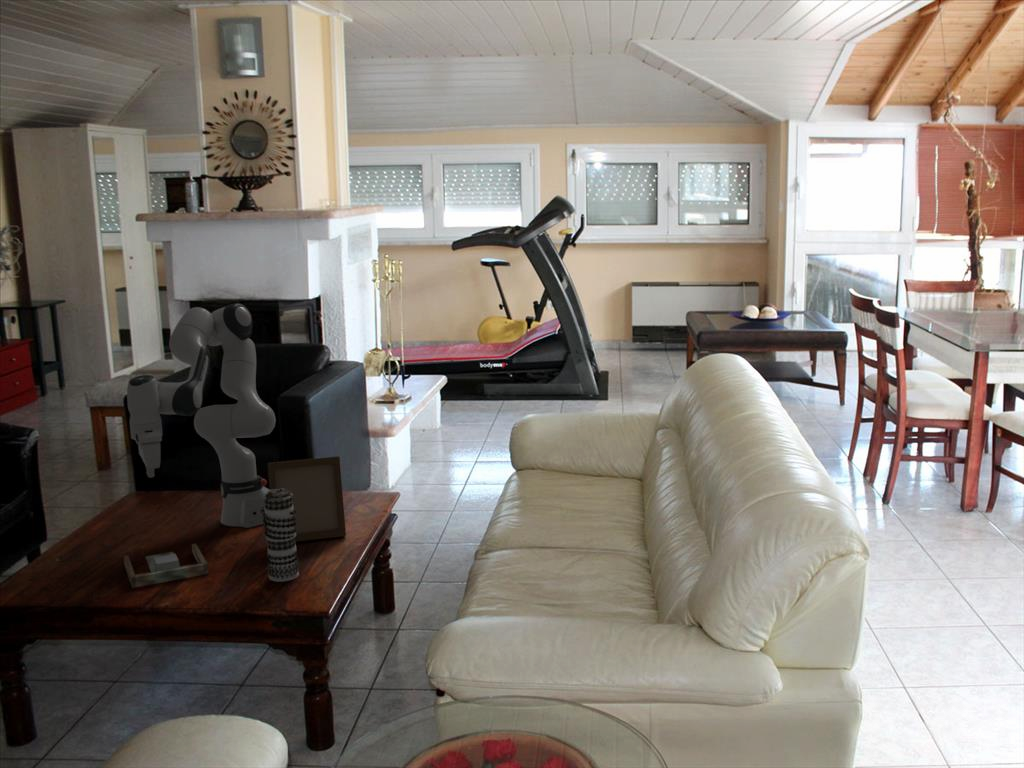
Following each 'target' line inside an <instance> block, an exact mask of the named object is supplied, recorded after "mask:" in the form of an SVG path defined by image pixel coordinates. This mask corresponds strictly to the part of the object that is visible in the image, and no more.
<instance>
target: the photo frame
mask: <svg viewBox="0 0 1024 768" xmlns="http://www.w3.org/2000/svg"><path fill="white" fill-rule="evenodd" d="M340 459H341V458H340V456H339V455H337V456H329V457H317V458H307V459H306V458H305V459H296V460H294V459H293V460H284V461H275V462H274V461H273V462H267V463H266V464H267V475H268V476H267V477H268V487H269V488H268V489H269V490H272V489H277V488H284V489H287V490H289V492H290V493H292V494H293V496H292V504H293V509H295V510H296V513H294V514H293V516H295V517H296V520H294V521H295V522H296V525H295V526H294V528H295V529H296V536H295V543H296V542H304V541H315V540H320V539H321V540H322V539H330V538H339V537H340V538H341V537H346V536H347V532H346V520H345V509H344V508H345V507H344V506H345V505H344V497H343V495H344V494H343V485H342V474H341V473H342V472H341V460H340Z"/></svg>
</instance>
